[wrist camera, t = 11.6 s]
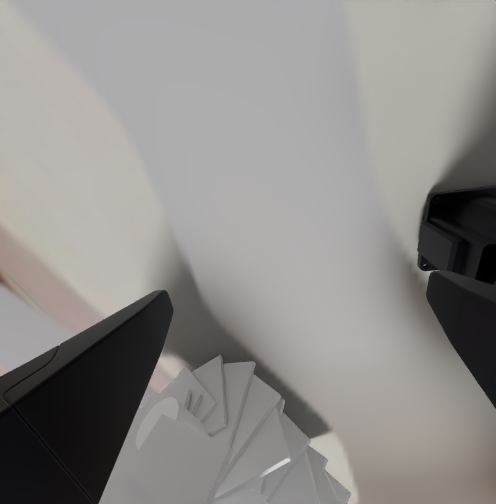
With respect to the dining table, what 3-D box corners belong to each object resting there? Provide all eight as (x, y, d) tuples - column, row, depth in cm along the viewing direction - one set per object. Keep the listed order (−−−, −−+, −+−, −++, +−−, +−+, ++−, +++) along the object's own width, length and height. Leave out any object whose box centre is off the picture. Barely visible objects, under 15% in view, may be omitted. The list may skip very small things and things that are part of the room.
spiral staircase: (264, 430, 41) (168, 329, 32) (380, 474, 30) (284, 335, 20) (200, 599, 29) (17, 516, 20) (356, 786, 17) (89, 795, 8)
